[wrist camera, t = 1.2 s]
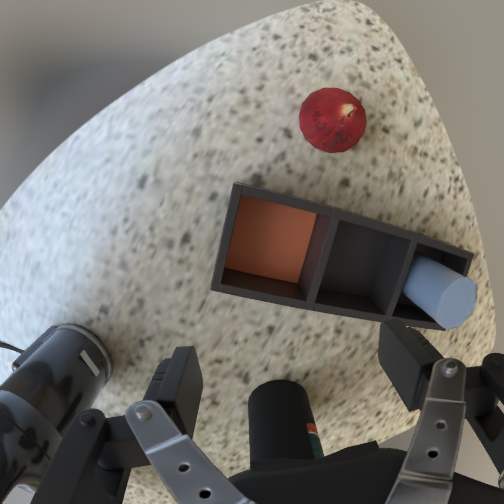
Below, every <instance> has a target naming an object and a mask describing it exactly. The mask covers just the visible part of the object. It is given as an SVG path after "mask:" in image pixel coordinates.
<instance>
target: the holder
mask: <svg viewBox="0 0 504 504" xmlns="http://www.w3.org/2000/svg"><path fill="white" fill-rule="evenodd" d="M414 252H419V253H422V254H424V255H426V256H428V257H430V258H432V259H434V260H436V261H438V262H439V263H441V264H443V265H445V266H447V267H449V268H451V269H453V270H455V271H457V272H459V273H461V274H462V275H464V276H466V277H467V274H468V271H469V268H470V265H471V262H472V259H473V255H474V254H473V253H471V252H469V251H466V250H464V249H462V248H459V247H457V246H454V245H452V244H449V243H447V242H444V241H441V240H438V239H435V238H432V237H429V236H426V235H424V234H421V233H418V232H415V231H412V230H409V229H406V228H402V227H399V226H396V225H393V224H390V223H387V222H384V221H380V220H377V219H374V218H371V217H367V216H364V215H361V214H357V213H354V212H350V211H347V210H343V209H340V208H336V207H333V206H329V205H326V204H322V203H318V202H315V201H311V200H307V199H303V198H300V197H296V196H292V195H288V194H284V193H280V192H276V191H272V190H268V189H264V188H259V187H255V186H251V185H247V184H242V183H238V182H235V183H234V184H233V187H232V192H231V196H230V200H229V205H228V209H227V214H226V218H225V222H224V227H223V231H222V236H221V241H220V245H219V250H218V254H217V259H216V264H215V269H214V273H213V278H212V283H211V288H210V290H213V291H218V292H219V291H220V292H222V293H226V294H231V295H236V296H240V297H245V298H250V299H255V300H260V301H265V302H270V303H275V304H280V305H285V306H290V307H296V308H301V309H306V310H313V311H318V312H323V313H329V314H335V315H340V316H346V317H352V318H358V319H365V320H371V321H377V322H383V321H388V320H393V319H399V320H400V321H401V322H402V323H403V324H404V325H405V326H412V327H419V328H427V329H434V330H442V331H445V330H446V329H445V328H443V327H442V326H440V325H439V324H438V323H437V322H436V321H435V320H433V319H432V318H431V317H430V316H429V315H427V314H426V313H425V312H424V311H423V310H421V309H420V308H419V307H418V306H417V305H415V304H414V303H413V302H412V301H411V300H409V299H408V298H407V297H406V296H404V295H403V294H402V293H401V291H402V288H403V285H404V282H405V280H406V277H407V274H408V271H409V268H410V265H411V262H412V259H413V255H414Z"/></svg>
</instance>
